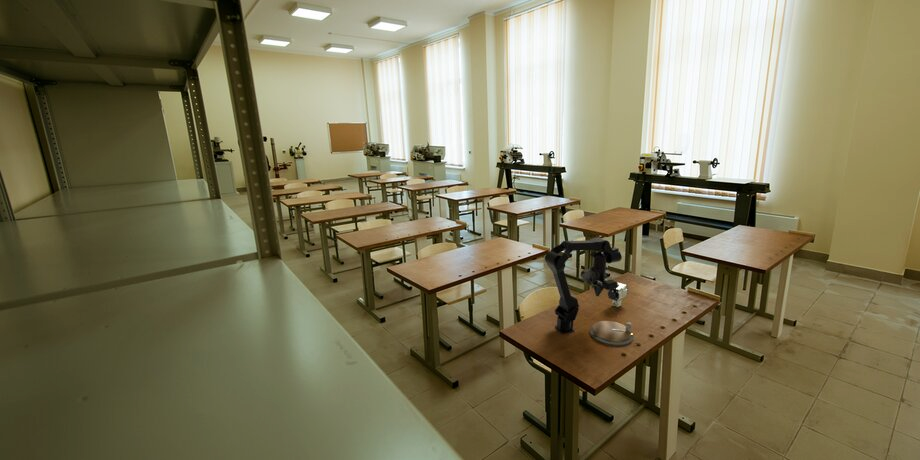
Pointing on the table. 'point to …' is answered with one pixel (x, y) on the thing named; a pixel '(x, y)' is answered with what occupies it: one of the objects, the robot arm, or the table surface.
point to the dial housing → (609, 341)
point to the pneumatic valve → (618, 294)
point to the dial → (612, 331)
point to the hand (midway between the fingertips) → (597, 296)
